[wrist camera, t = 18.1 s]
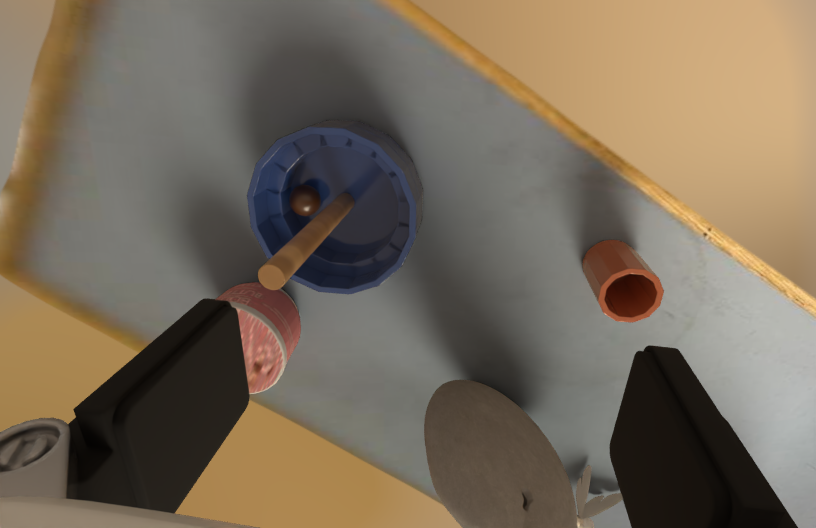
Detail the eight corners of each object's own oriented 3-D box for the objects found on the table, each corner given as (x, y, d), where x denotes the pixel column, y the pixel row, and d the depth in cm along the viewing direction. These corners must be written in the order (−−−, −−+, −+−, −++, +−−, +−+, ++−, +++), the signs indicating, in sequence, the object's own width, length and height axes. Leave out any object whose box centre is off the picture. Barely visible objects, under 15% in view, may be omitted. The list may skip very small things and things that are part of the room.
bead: (326, 188, 44) (314, 181, 46) (295, 189, 42) (285, 181, 44) (325, 218, 45) (313, 210, 47) (294, 220, 43) (284, 211, 45)
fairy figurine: (531, 508, 57) (568, 523, 51) (553, 458, 60) (591, 465, 54) (566, 535, 58) (607, 552, 52) (586, 484, 61) (628, 494, 55)
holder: (587, 237, 44) (605, 266, 38) (641, 241, 44) (669, 271, 37) (578, 284, 46) (594, 319, 40) (630, 288, 46) (655, 324, 39)
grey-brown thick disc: (416, 372, 53) (387, 516, 36) (457, 334, 50) (446, 470, 33) (534, 461, 56) (559, 634, 39) (578, 429, 53) (626, 601, 36)
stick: (336, 192, 45) (256, 263, 29) (354, 193, 45) (283, 265, 29) (337, 209, 46) (259, 289, 30) (354, 211, 46) (285, 291, 29)
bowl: (267, 116, 44) (238, 123, 39) (426, 122, 42) (418, 131, 37) (282, 262, 50) (258, 286, 45) (420, 273, 48) (413, 299, 43)
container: (212, 324, 55) (171, 363, 47) (240, 254, 50) (200, 286, 43) (290, 365, 55) (262, 410, 48) (325, 300, 51) (300, 339, 44)
